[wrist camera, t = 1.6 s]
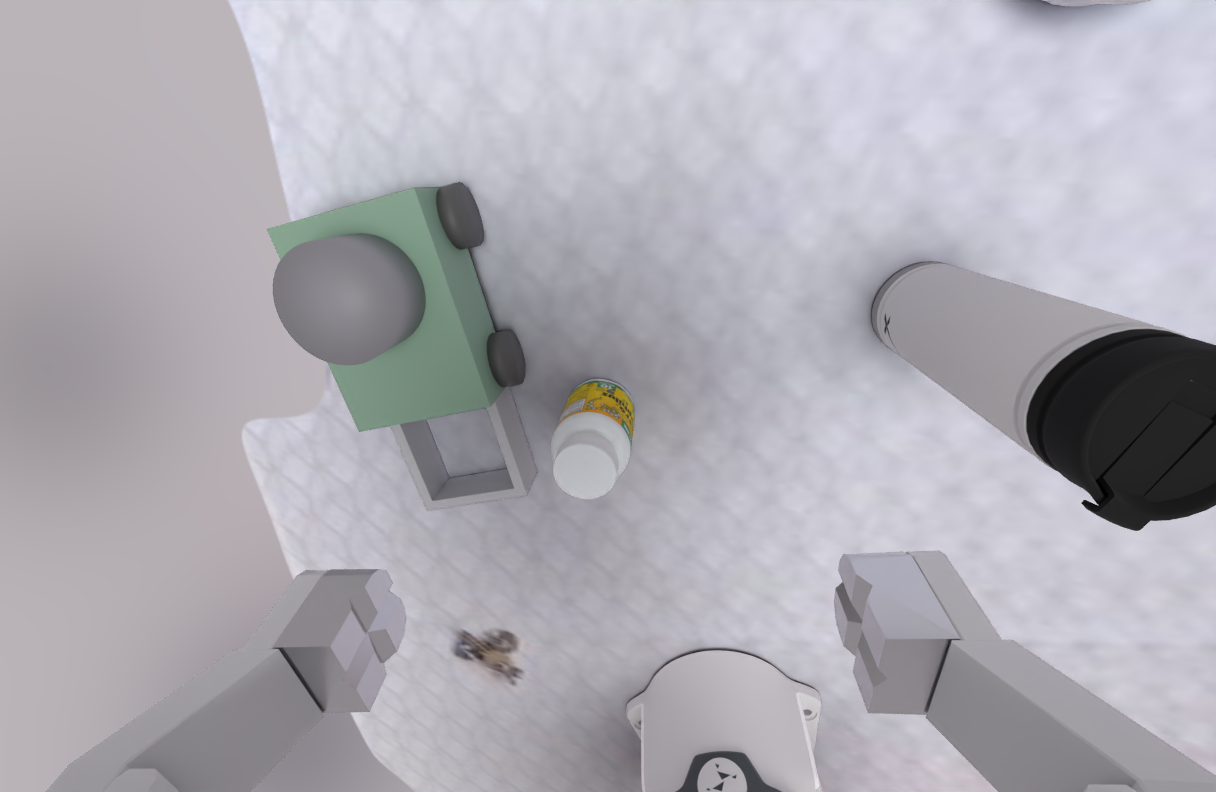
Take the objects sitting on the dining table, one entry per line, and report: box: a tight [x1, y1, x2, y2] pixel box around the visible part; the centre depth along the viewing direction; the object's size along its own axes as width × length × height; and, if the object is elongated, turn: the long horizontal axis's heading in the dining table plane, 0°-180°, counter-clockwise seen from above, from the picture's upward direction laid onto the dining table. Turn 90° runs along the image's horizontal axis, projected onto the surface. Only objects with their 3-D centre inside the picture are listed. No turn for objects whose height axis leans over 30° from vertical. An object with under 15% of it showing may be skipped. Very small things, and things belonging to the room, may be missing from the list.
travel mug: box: [872, 262, 1216, 531], centre depth 26 cm, size 6×7×20 cm
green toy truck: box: [267, 182, 537, 511], centre depth 35 cm, size 23×12×10 cm, turn 14°
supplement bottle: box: [551, 379, 635, 499], centre depth 36 cm, size 5×5×10 cm
